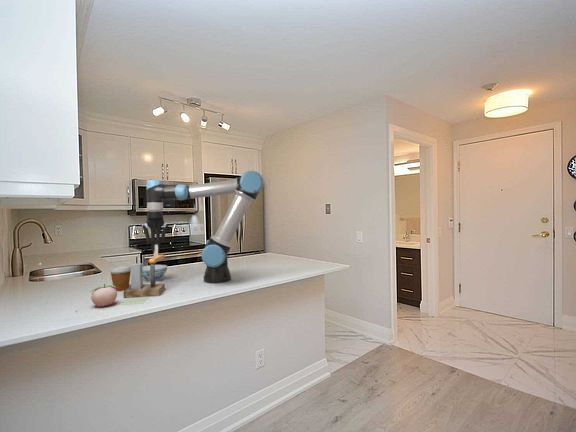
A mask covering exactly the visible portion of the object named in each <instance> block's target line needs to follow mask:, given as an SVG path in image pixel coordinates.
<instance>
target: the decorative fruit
mask: <svg viewBox="0 0 576 432" xmlns="http://www.w3.org/2000/svg"><path fill="white" fill-rule="evenodd" d="M114 287H115V288H117V287H116V286H113V284H112V285H106V284H105V283H104V284H103V286H97V287H95V288H93V289H92V290H91V297H90V300H91V302H92V303H93V304H94V305H95V306H97V307H99V308H104V307H109V306H111V305H112V304H113V303H115V302H116V299H117V297H118V291H116V289H115V288H114Z"/></svg>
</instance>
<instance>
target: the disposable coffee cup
mask: <svg viewBox="0 0 576 432" xmlns="http://www.w3.org/2000/svg"><path fill="white" fill-rule="evenodd" d="M109 273H110V275H111V276H110V277H111V280H112V281H111V282H112V286H116V287H117V288H115V287H114V288H115V289H116V291H117V292H124V291H125V290H126V289H128V288H129V287H130V282H131V266H130V265H120V266H114V267H110V270H109Z"/></svg>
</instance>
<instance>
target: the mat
mask: <svg viewBox="0 0 576 432" xmlns="http://www.w3.org/2000/svg"><path fill="white" fill-rule="evenodd" d="M147 300H149V297H138V298H126V300H124V301H123V302H122V303H121V304H120V306H129V305H130V306H131V305H142V304H143V305H144V303H146V301H147Z"/></svg>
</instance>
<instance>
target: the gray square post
mask: <svg viewBox="0 0 576 432" xmlns="http://www.w3.org/2000/svg"><path fill="white" fill-rule="evenodd" d="M129 266H130V267H131V272H130V286H131V289H142V288H143V284H144V278H143V270H142V267H143V263H141V262H140V263H132V264H130V265H129Z"/></svg>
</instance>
